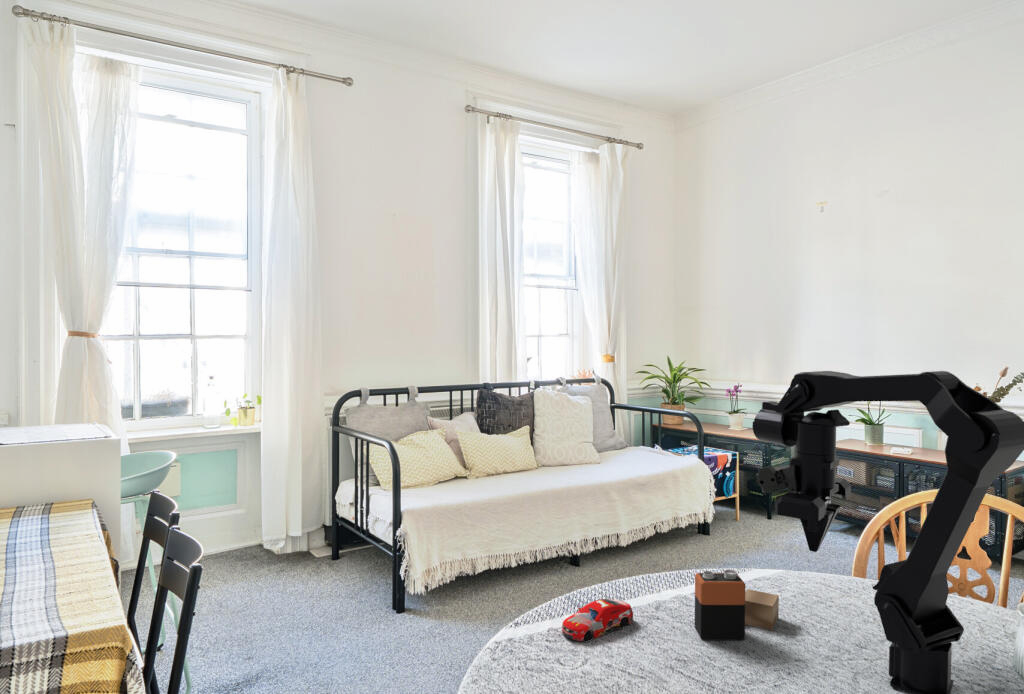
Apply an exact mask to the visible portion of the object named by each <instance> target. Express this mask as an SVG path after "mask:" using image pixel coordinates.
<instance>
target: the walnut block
mask: <svg viewBox="0 0 1024 694" xmlns="http://www.w3.org/2000/svg"><path fill="white" fill-rule="evenodd" d="M779 597H780V595H778V594H774V593H768V592H766V591H765V592H763V591H759V590H753V589H749V588H748V589H747V588H746V589H745V625H749V626H753V627H757V628H761V629H765V630H770V631H773V630H774V629H775V626H776V624H777V622H778V621H779V616H780V615H779V611H780V610H779V604H780V603H779V601H780V599H779Z"/></svg>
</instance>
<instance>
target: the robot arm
mask: <svg viewBox="0 0 1024 694" xmlns="http://www.w3.org/2000/svg"><path fill="white" fill-rule="evenodd" d="M855 402H919V403H921V404H922V405H923V406H924V407H925V408H926V410H927V412H928V414H929V416H930V417H931V420H932V421H933V423H934V424H935V426H936V427H938V429H940V430H941V431H942V432H943V433H944V434H945V435H946V436H947V439H946V443H945V447H944V455H945V461H946V472H945V475H944V477H943V479H942V482H941V484H940V485H939V488H938V490H937V493H936V495H935V497H934V500H933V501H932V503H931V505H930V508H929V511H928V512H927V515H926V517H925V519H924V521H923V524H922V525H921V527H920V529H919V532H918V534H917V536H916V539H914V540H915V541H914V543H913V545H912V547H911V549H910V552H909V554H908V556H907V557H906V559H903V560H900V561H896V562H895V561H894V562H891V563H888V564H884V566H883V567H882V569H881V570H880V571H881V572H880V576H879V579H878V580H877V583H876V584H875V585H874V586H872V589H873V591H876V592H875V594H874V596H873V597H874V598H873V602H874V606H875V607H876V609H877V612H878V614H879V618H880V620H881V625H882V628H883V631H884V635H885V639H886V640H887V641H888V642H890V646H889V648H888V651H889V652H888V653H889V654H888V675H889V676H890V678H891V679H890V681H889V686H890V687H892V688H894V689H897V690H899V691H903V692H907V693H909V694H951V692H952V689H953V686H954V680H953V679H952V648H953V645H952V643H954V642H959V641H960V640H961V638H962V635H963V633H964V631H965V628H964V626H963V625H962V623H961V622H960V621H959V620H958V619H957V617H956V616H955V614H954V613H953V612H952V610H951V609H950V607H949V606H948V605H947V602H948V601H947V600H948V598H949V593H950V589H949V584H948V577H947V576H948V572H949V569H950V568H951V565H952V563H953V561H954V559H955V558H956V555H957V553H958V551H959V549H960V547H961V545H962V543H963V540H964V538H966V534H967V533H968V531H969V529H970V527H971V524H972V523H973V521H974V518H975V516H976V514H977V513H978V510H979V508H980V506H981V505H982V502H983V501H984V498H985V496H986V494H987V492H988V490H989V487H990V486H991V485H992V484H993V482H994V481H995V480H997V479H998V478H999V477H1000V476H1002V474H1003V473H1005V472H1006V471H1007V470H1008V469H1009V468H1011V466H1013V465H1014V463H1015V462H1016V461H1017V460H1018V458H1019V457H1020V456H1021V454H1022V453H1023V452H1024V420H1023V419H1022V418H1021V417H1020V416H1019V415H1017V414H1016V413H1015V412H1013V411H1010V410H1007V409H1004V408H1003V407H1001V405H1000V404H998V403H997V402H995V401H994V400H993V399H991V398H989V397H987V396H986V395H984V394H982V393H981V392H979V391H977V390H975V389H974V388H972V387H971V386H969V385H968V384H966V383H965V382H963V381H962V380H961V379H960V378H959V377H958V376H957V375H955V374H954V373H951V372H950V371H947V370H937V371H936V370H935V371H934V370H932V371H923V372H920V373H907V374H885V375H884V374H882V375H865V376H864V375H863V376H861V375H853V374H849V373H846V372H840V371H832V370H821V371H819V370H817V371H802V372H798V373H795V374H794V375H793V377H792V379H791V382H790V384H789V387H788V388H787V390H786V392H785V393H784V395H783V396H782V398H781V399H780V400H779V402H777V401H773V400H772V401H770V400H769V401H762V404H761V409H760V410H758V412H757V413H756V414H755V417H754V419H753V422H752V426H751V427H752V431H753V435H754V436H755V438H756V439H757V440H759V441H761V442H765V443H771V444H776V445H780V446H785V447H791V448H792V447H794V446H795V456H793V457H791V459H790V460H789V461H788V463H789V464H785V465H780V466H777V467H776V466H775V467H773V466H772V465H768V466H765V467H764V466H762V467H760V468H758V473H756V475H755V477H756V480H755V484H756V486H759V487H760V488H761V492H762V493H763V494H766V493H767V494H768V493H771V492H772V491H775V490H781V489H785V488H787V491H788V492H786V493H784V494H783V495H781V496H780V497H778V499H776V500H775V501H774V514H775V515H777V516H783V517H787V518H788V517H789V518H793V519H798V520H800V522H801V526H802V528H803V532H804V536H805V539H806V544H807V546H808V549H809V551H810V552H814V553H816V552H818V551H819V549H820V547H821V546H822V543H823V541H824V539H825V538H826V536H827V534H828V532H829V529H830V528H831V525H832V524H833V522H834V520H835V518H836V516H837V514H838V513H839V510H840V509H841V505H840V504H834V503H832V499H829V498H830V497H832V496H834V495H839V496H841V498H842V500H849V498H851V497H852V485H851V483H850V482H849V481H848V480H847V479H846V478H841V477H836V467H837V466H839V465H840V457H836V455H837V453H836V452H837V450H836V448H837V427H838V428H839V427H847V426H849V425H850V424H851V423H850V420H849V419H847V417H845V416H844V415H843V414H842V413H841V412H840V410H839V409H829V410H827V411H826V412H819V411H821V410H822V409H827V408H834V407H835V408H836V407H841V406H844V405H849V404H852V403H855ZM807 412H809V413H807ZM805 413H807V414H806V415H805Z"/></svg>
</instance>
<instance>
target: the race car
mask: <svg viewBox="0 0 1024 694" xmlns="http://www.w3.org/2000/svg"><path fill="white" fill-rule="evenodd" d="M577 609H578V611H577V612H576V613H574V614H571V615H570V616H568V617H567V618H565V619H564V620H563V622H562V624H561V628H562V630H561V631H562V632H561V633H562V634H563V636H565V637H566V638H568V639H570V640H572V641H573V640H574V641H577V642H578V641H580V642H584V641H585V642H584V643H587V642H586V641H588V640H591V639H592V640H593V638H594V639H595V638H598V637H600V636H603V635H606V634H609V633H611V632H613V631H616V630H619V629H623V627H624V628H626V627H625V626H627V627H628V625H630V624H631V623H632V622H633V621H634V612H633V608H632V606H631V604H629V603H627V602H625V601H623V600H621V599H617V598H615V599H613V598H612V599H611V598H602V599H598V600H597V599H596V600H594V601H591V602H590V603H588V604H585V605H583V607H582V608H581V607H578V608H577ZM592 640H591V641H592ZM588 642H589V641H588Z"/></svg>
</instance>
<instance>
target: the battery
mask: <svg viewBox="0 0 1024 694" xmlns="http://www.w3.org/2000/svg"><path fill="white" fill-rule="evenodd" d="M745 592H746V583H745V581H744V580H743V579H742V578H741V577H740V576H739V573H738V572H737V571H736V570H733V569H724V570H723V571H722V572H713V571H711V570H704V571H703V572H697V573H695V575H694V629H695V630H696V632H697V634H698V636H699V638H700V639H701V640H703V641H743V640H745V638H746V637H745V636H746V624H745Z"/></svg>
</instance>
